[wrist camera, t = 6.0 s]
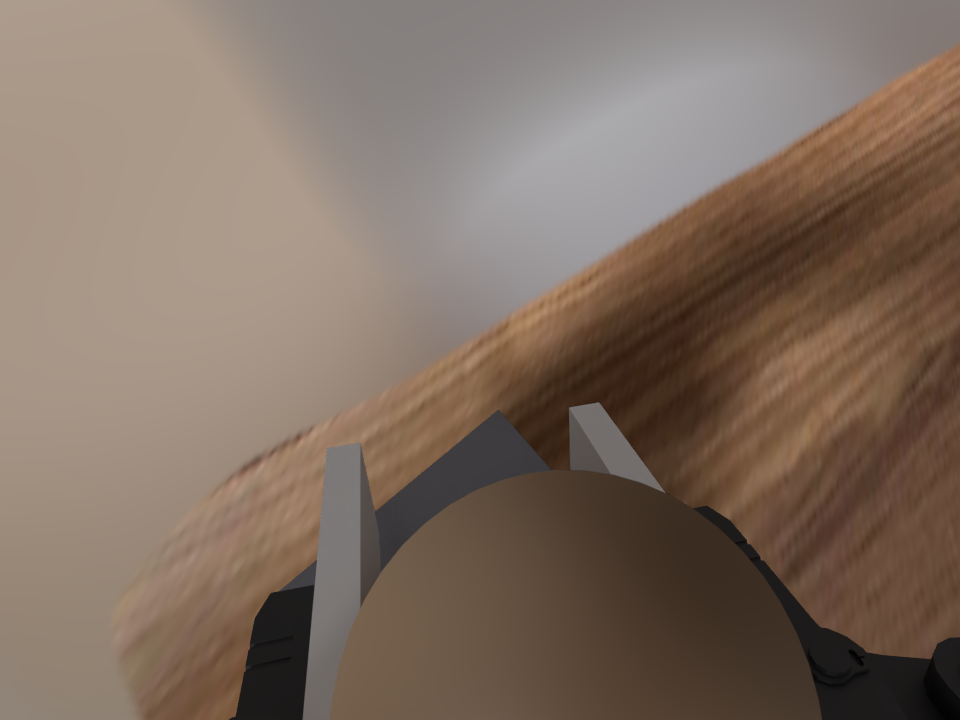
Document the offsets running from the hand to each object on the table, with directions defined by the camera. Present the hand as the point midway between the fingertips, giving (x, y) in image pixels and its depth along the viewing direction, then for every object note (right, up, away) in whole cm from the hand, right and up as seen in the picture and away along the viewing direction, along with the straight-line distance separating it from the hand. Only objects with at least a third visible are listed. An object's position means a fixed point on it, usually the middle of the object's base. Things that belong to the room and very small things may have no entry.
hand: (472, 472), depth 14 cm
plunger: (0, -6, +7) cm, 9 cm away
